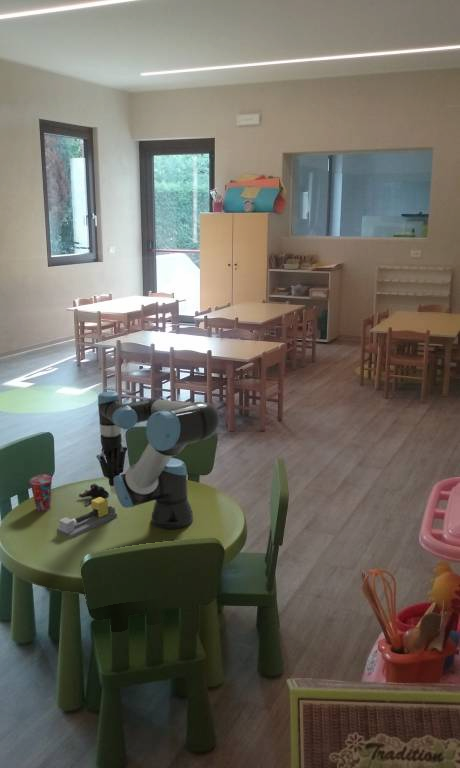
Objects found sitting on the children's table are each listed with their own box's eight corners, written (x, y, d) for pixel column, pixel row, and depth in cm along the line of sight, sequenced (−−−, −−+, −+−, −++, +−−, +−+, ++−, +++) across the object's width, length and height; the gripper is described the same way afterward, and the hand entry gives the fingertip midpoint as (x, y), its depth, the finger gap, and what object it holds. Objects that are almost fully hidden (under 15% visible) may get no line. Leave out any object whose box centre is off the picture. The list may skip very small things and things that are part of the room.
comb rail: (103, 510, 262) (102, 498, 260) (117, 516, 256) (116, 504, 255) (57, 531, 246) (55, 518, 245) (70, 538, 241) (69, 525, 240)
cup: (58, 509, 263) (55, 480, 260) (36, 515, 259) (33, 485, 255) (49, 500, 271) (46, 472, 268) (28, 506, 266) (25, 477, 263)
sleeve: (100, 510, 258) (99, 496, 257) (108, 513, 255) (107, 500, 254) (92, 514, 255) (91, 500, 254) (99, 517, 252) (98, 503, 251)
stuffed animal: (106, 485, 281) (108, 479, 270) (109, 509, 278) (111, 504, 267) (77, 489, 278) (78, 483, 267) (79, 513, 275) (80, 508, 264)
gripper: (117, 426, 260) (121, 484, 266) (90, 436, 250) (94, 495, 257) (131, 430, 255) (134, 489, 262) (103, 440, 246) (107, 501, 252)
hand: (114, 492), depth 259 cm, fingers closed
